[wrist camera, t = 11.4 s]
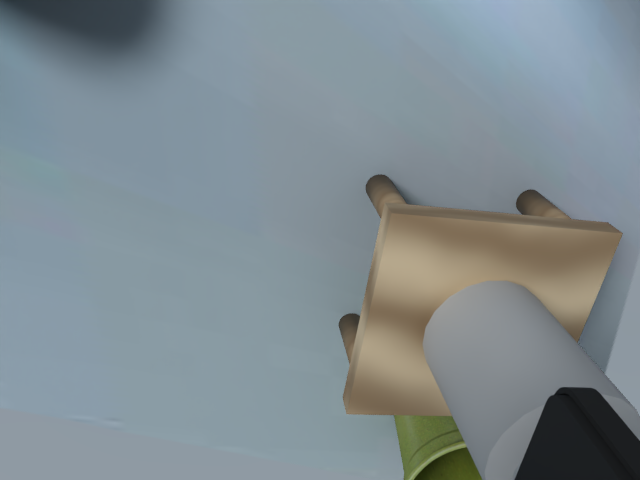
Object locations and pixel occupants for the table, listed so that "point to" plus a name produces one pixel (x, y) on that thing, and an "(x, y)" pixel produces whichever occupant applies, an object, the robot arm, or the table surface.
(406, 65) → the table surface
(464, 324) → the can
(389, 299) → the stool
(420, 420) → the plant pot
